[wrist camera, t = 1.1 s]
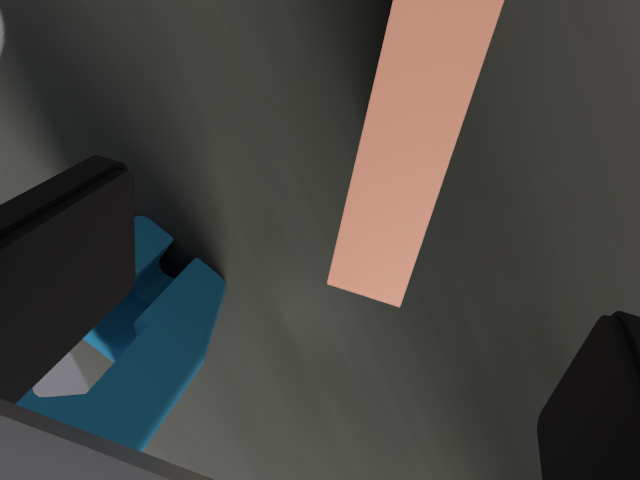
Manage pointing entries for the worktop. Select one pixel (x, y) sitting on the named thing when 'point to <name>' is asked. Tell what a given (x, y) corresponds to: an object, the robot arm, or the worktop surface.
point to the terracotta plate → (409, 139)
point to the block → (144, 347)
